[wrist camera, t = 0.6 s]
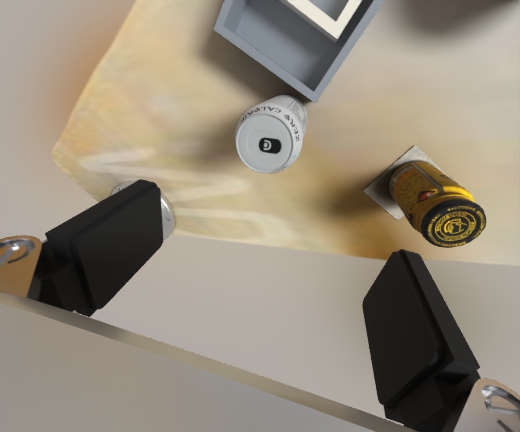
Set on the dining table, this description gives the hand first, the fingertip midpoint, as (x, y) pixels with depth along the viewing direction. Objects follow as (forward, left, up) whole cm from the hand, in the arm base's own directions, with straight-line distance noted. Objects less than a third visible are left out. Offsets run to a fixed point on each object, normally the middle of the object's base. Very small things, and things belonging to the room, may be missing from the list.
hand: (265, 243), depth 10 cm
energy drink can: (0, +3, -27) cm, 27 cm away
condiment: (+2, -16, -27) cm, 32 cm away
